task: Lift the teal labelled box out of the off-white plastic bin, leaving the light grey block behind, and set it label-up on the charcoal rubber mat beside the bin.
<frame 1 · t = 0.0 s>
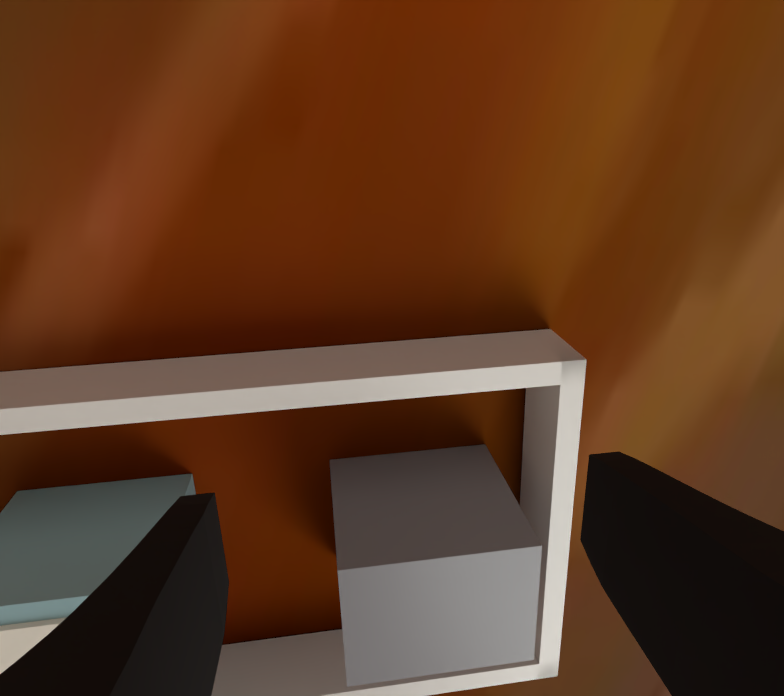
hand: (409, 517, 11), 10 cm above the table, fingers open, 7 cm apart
light grey block: (409, 500, 23), resting in parts bin
parts bin: (268, 517, 23), on the table
teal labelled box: (119, 532, 22), resting in parts bin
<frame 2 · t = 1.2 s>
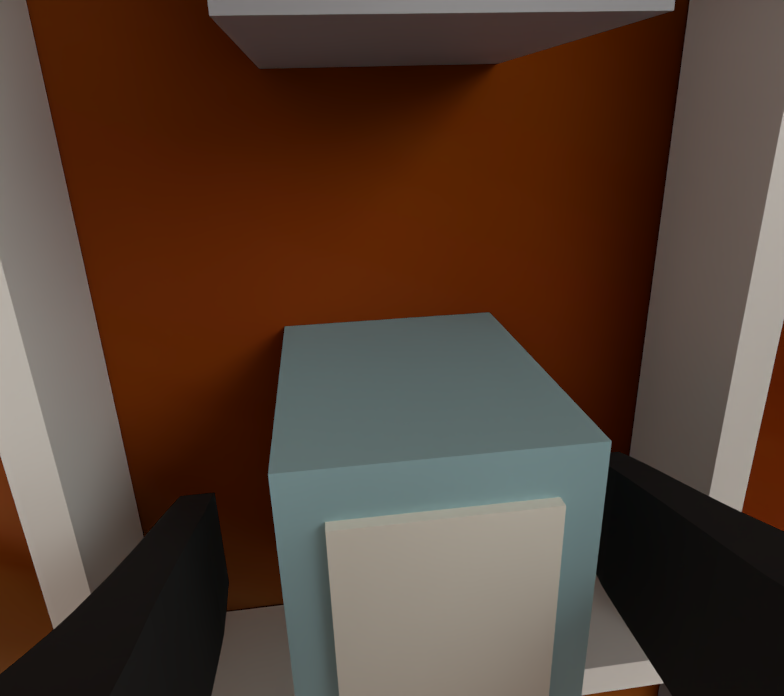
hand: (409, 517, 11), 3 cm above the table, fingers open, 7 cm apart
parts bin: (385, 202, 12), on the table
teal labelled box: (392, 438, 14), resting in parts bin
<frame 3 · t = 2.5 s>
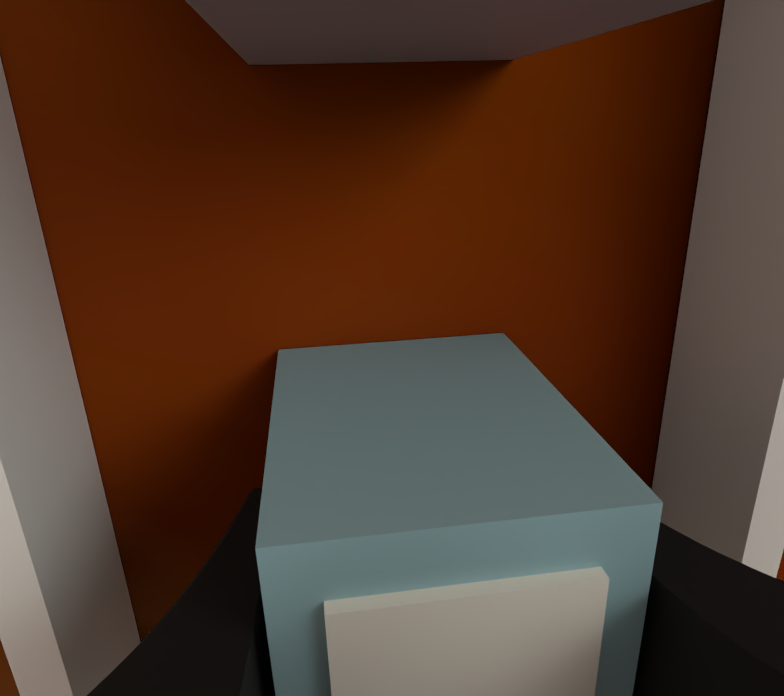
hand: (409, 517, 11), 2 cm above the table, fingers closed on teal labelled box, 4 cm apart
parts bin: (389, 213, 11), on the table
teal labelled box: (397, 471, 13), resting in parts bin, touching gripper
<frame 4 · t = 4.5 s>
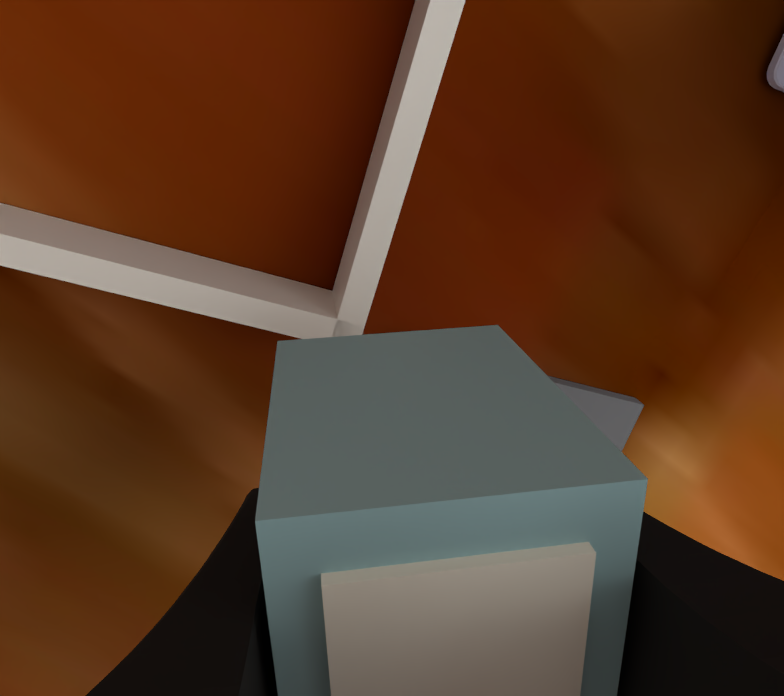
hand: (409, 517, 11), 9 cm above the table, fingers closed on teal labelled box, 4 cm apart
charcoal mat: (468, 485, 23), on the table
teal labelled box: (394, 461, 13), point 7 cm above the table, touching gripper
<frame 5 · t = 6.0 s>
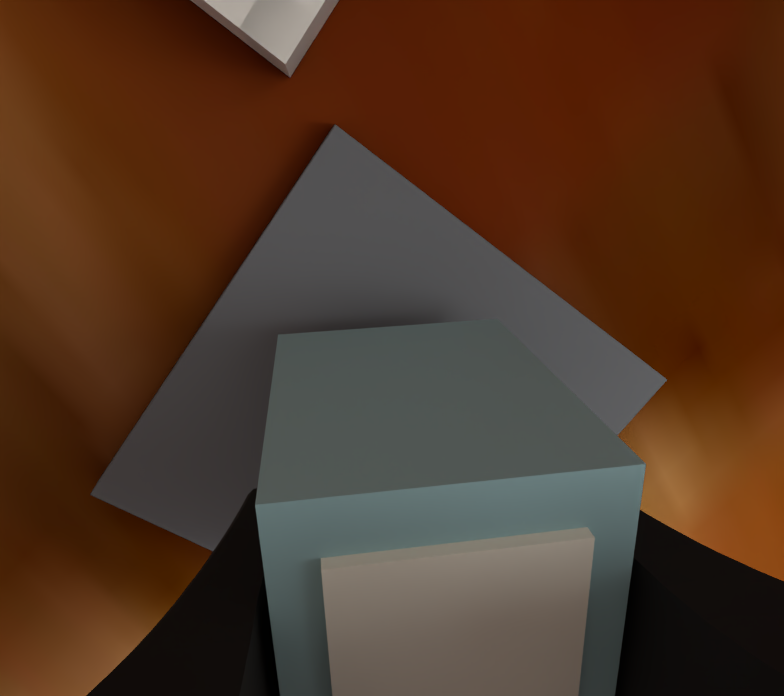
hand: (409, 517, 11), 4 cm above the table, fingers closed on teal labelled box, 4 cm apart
charcoal mat: (385, 423, 15), on the table
teal labelled box: (394, 455, 13), point 2 cm above the table, touching gripper
when the fingers open (3 cm above the table, at t = 7.0 s): teal labelled box stays where it is, resting on charcoal mat.
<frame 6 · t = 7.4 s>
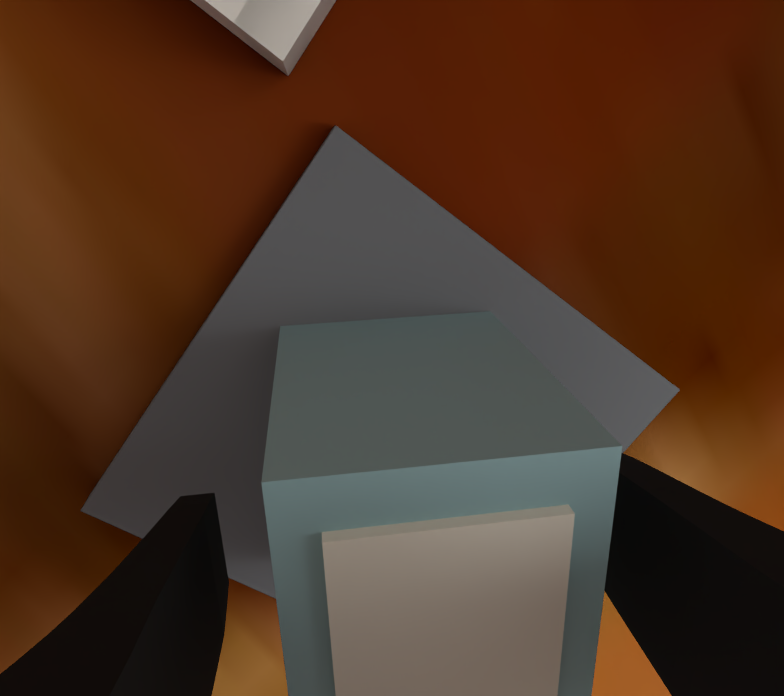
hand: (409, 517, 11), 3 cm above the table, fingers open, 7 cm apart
charcoal mat: (387, 435, 14), on the table
teal labelled box: (391, 442, 14), point 1 cm above the table, touching charcoal mat
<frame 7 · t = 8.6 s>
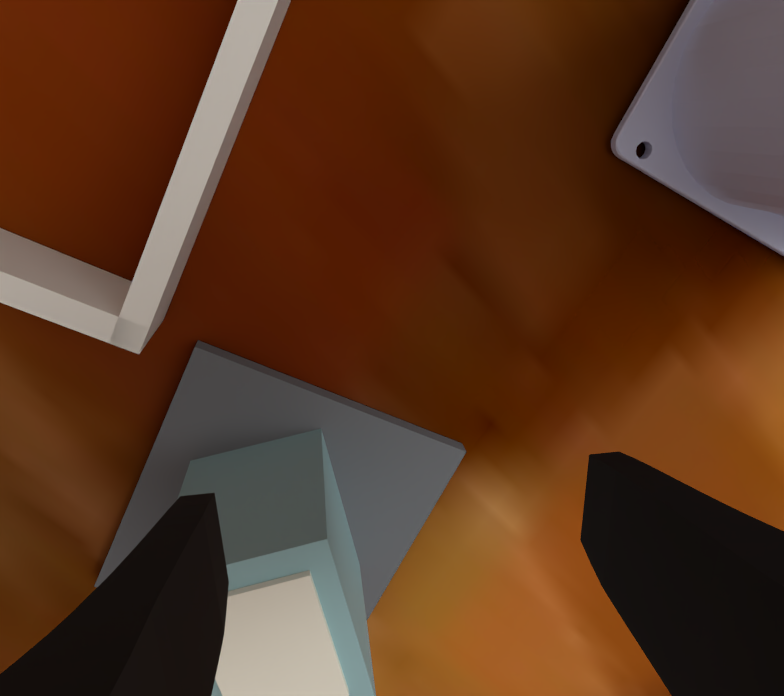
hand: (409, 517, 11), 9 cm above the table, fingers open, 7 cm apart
charcoal mat: (281, 508, 22), on the table
teal labelled box: (279, 515, 21), point 1 cm above the table, touching charcoal mat
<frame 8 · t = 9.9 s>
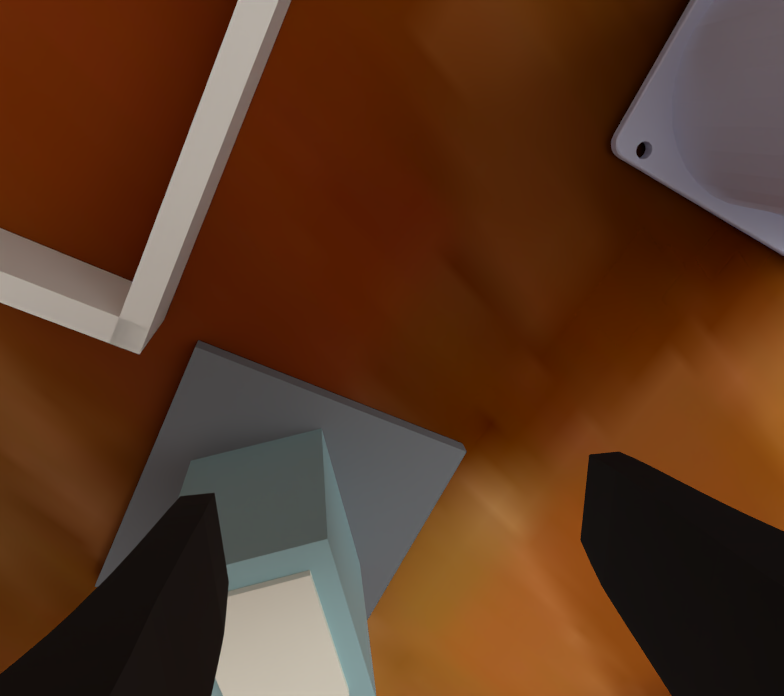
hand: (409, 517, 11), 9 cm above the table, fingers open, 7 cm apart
charcoal mat: (281, 508, 22), on the table
teal labelled box: (280, 515, 21), point 1 cm above the table, touching charcoal mat
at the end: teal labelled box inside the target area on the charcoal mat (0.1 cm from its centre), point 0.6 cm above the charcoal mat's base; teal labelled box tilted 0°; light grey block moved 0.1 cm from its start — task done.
